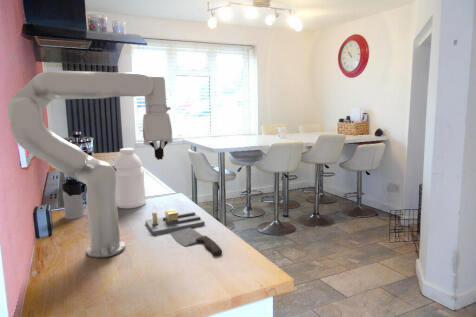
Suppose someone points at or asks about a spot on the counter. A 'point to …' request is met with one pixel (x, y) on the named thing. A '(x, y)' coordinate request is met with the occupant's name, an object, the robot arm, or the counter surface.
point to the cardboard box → (171, 215)
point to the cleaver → (195, 239)
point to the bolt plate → (173, 223)
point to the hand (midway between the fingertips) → (159, 159)
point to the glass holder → (73, 200)
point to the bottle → (129, 180)
